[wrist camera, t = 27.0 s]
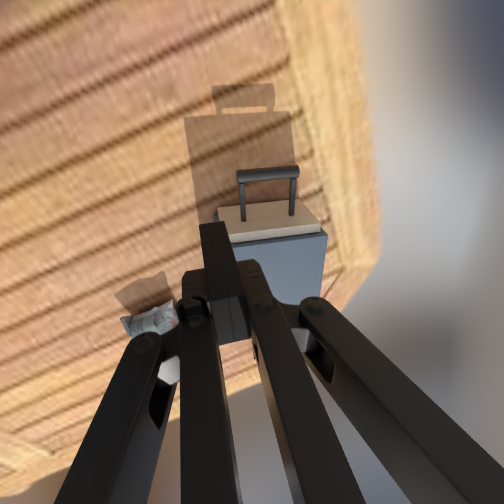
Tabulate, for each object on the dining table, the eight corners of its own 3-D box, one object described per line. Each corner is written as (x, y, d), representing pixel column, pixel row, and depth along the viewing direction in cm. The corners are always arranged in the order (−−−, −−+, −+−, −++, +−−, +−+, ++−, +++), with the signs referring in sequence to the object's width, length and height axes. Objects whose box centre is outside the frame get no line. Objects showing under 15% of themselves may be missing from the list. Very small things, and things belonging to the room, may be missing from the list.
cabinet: (213, 213, 38) (220, 249, 30) (300, 203, 40) (328, 235, 32) (222, 293, 46) (230, 338, 38) (294, 282, 48) (316, 322, 40)
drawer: (212, 160, 34) (218, 181, 27) (301, 153, 35) (327, 170, 29) (225, 285, 44) (232, 321, 38) (293, 275, 46) (311, 307, 40)
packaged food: (172, 288, 44) (171, 311, 40) (203, 334, 50) (204, 357, 46) (121, 308, 44) (114, 332, 40) (158, 350, 50) (155, 375, 46)
